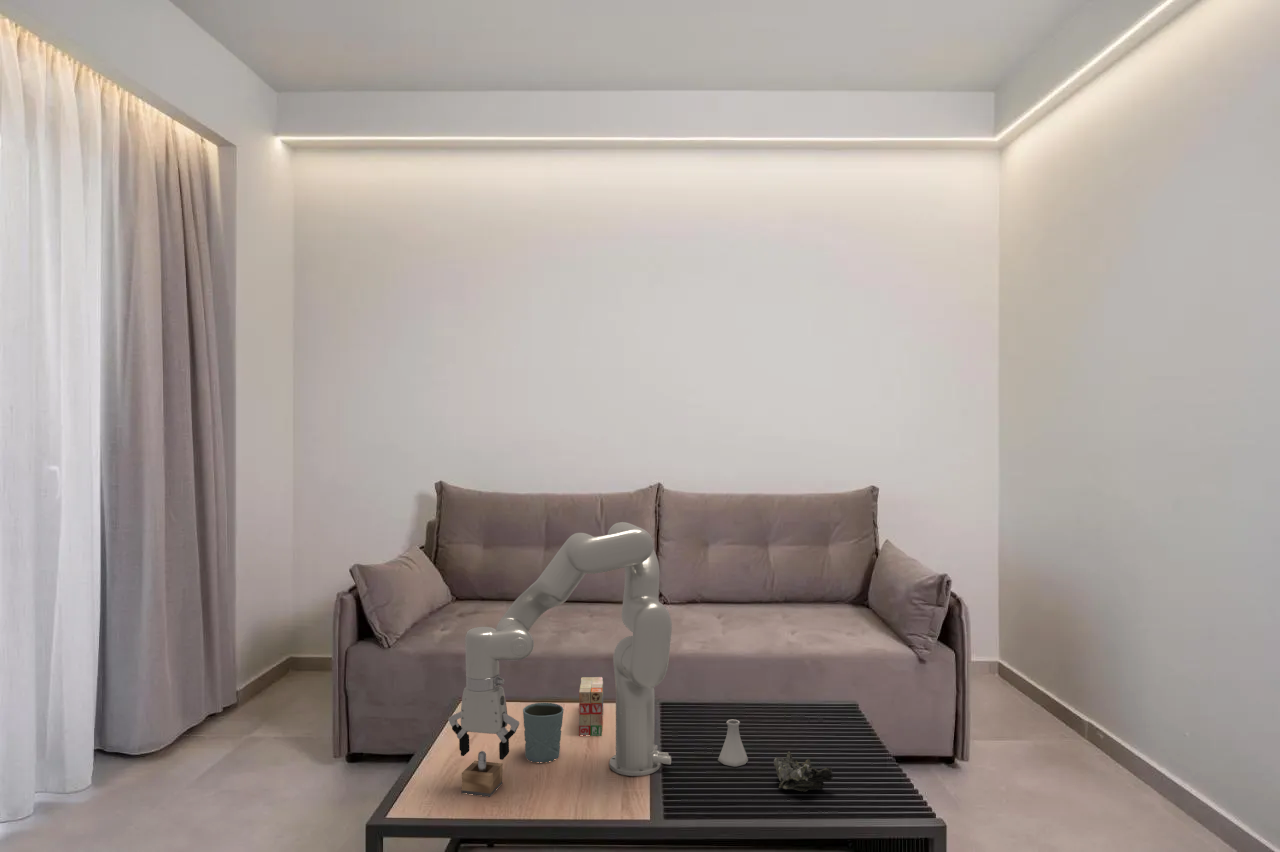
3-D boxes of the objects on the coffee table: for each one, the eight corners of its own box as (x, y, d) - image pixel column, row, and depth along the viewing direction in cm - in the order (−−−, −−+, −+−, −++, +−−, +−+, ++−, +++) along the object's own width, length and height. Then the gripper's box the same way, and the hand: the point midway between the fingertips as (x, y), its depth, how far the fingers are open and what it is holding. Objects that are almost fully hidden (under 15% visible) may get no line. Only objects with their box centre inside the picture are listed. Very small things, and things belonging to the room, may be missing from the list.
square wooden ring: (502, 780, 197) (502, 763, 197) (490, 793, 190) (490, 776, 190) (474, 777, 198) (474, 760, 198) (461, 790, 192) (461, 772, 192)
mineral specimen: (847, 770, 193) (822, 734, 193) (814, 810, 186) (788, 773, 186) (810, 768, 206) (785, 734, 206) (778, 806, 199) (753, 771, 199)
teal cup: (514, 756, 213) (514, 709, 212) (545, 744, 220) (545, 699, 220) (541, 767, 206) (541, 719, 205) (571, 755, 213) (571, 708, 213)
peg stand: (502, 783, 197) (502, 746, 197) (489, 797, 190) (489, 758, 190) (474, 780, 199) (474, 743, 198) (461, 793, 192) (461, 755, 192)
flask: (753, 761, 210) (753, 721, 210) (736, 770, 205) (736, 729, 205) (730, 753, 215) (730, 714, 215) (712, 761, 210) (712, 721, 210)
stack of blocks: (582, 708, 247) (582, 667, 247) (603, 708, 247) (603, 666, 247) (578, 736, 226) (578, 691, 225) (602, 736, 226) (602, 691, 226)
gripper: (523, 679, 195) (525, 752, 196) (456, 674, 200) (457, 746, 200) (511, 690, 188) (512, 765, 189) (440, 684, 192) (442, 758, 193)
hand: (484, 755), depth 194 cm, fingers open, 9 cm apart
